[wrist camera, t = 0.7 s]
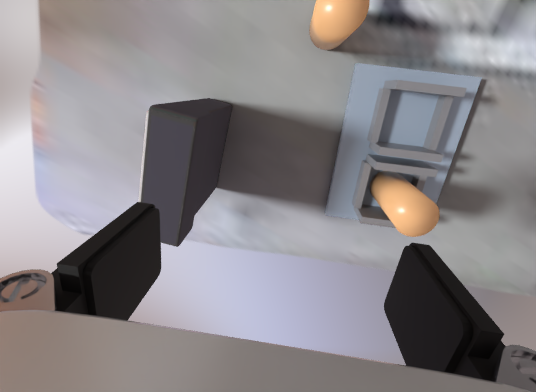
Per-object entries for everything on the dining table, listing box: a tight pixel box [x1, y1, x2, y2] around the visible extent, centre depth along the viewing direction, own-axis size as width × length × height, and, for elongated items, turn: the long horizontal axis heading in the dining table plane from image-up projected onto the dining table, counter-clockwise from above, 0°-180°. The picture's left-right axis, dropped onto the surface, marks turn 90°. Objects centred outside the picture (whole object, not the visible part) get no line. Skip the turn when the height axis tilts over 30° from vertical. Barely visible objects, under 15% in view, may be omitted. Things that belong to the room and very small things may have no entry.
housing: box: [325, 63, 482, 237], centre depth 29 cm, size 18×13×10 cm
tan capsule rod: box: [309, 0, 369, 50], centre depth 26 cm, size 4×4×9 cm
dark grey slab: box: [139, 98, 232, 247], centre depth 28 cm, size 11×4×15 cm, turn 165°
